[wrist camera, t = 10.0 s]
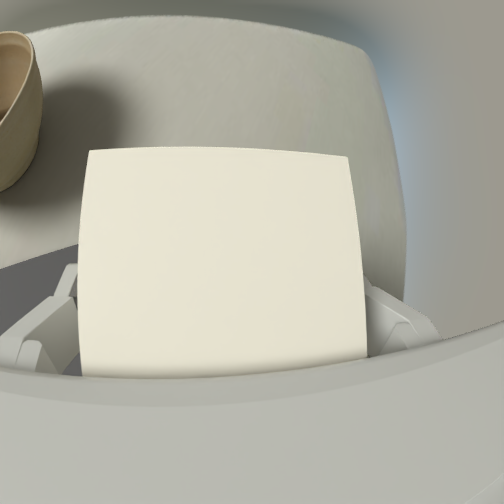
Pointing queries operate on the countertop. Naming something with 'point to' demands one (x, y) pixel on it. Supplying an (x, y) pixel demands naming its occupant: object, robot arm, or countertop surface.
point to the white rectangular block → (217, 263)
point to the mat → (34, 290)
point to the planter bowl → (18, 106)
